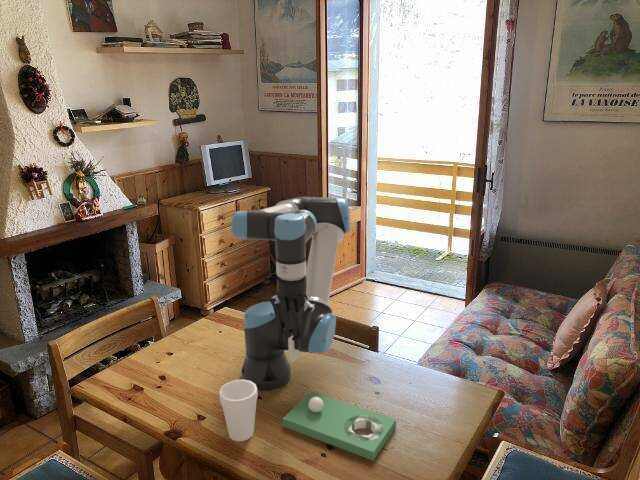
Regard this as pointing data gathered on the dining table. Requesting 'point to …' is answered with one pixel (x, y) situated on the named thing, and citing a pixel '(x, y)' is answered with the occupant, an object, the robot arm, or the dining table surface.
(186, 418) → the dining table surface
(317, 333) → the robot arm
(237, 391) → the foam cup
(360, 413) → the green
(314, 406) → the ball
